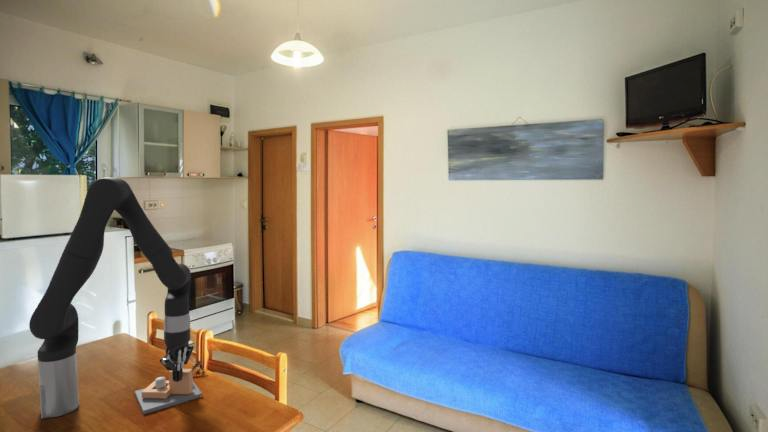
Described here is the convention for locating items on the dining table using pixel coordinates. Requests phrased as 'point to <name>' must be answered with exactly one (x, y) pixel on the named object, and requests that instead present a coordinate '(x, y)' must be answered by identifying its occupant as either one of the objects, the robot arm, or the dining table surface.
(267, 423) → the dining table surface
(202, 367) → the wooden post with brackets
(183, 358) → the robot arm
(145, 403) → the post base
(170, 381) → the peach open lidded box
